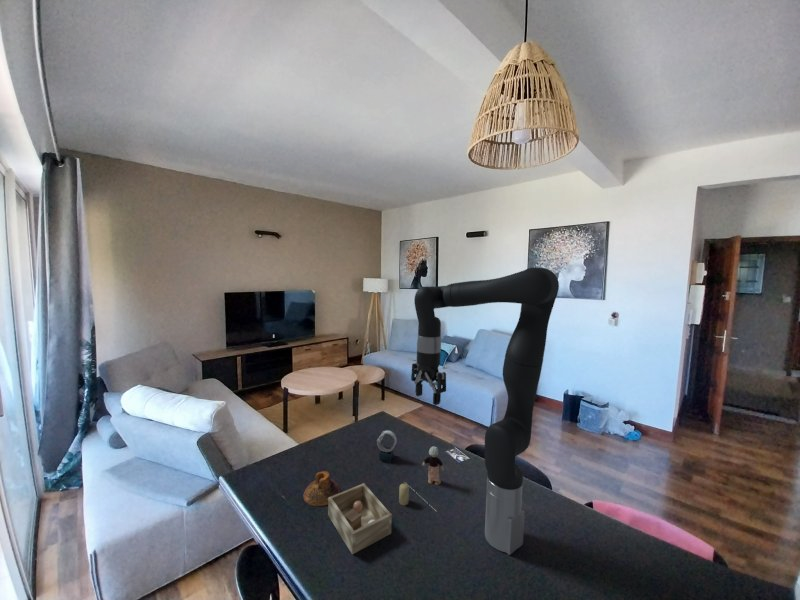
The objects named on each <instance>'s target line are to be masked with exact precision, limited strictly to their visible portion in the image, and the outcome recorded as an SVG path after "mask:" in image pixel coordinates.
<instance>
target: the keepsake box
mask: <svg viewBox="0 0 800 600" xmlns="http://www.w3.org/2000/svg"><path fill="white" fill-rule="evenodd" d="M355 501H361V503H362V505H363V507H362V510H361V511H360V512H358V513H360V514H361V527H360V528H358V529H357V530H355V531H354V530H353V529H352V527H351V526H350V524H349V523H348V521H347V520H346V518H345V517H344V515H345V514H346V513H348V512H349V511H351V510H352V509H353V504H354V502H355ZM327 516H328V517H329V519H330V521H331V523H332V524H333V525H334V527H335V528H336V531H337V532H338V534H339V536H340V537H341V539H342V540H343V542H344V543H345V546H347V548H348V550H349V552H350V553H351V555H354V554H356V553H358V552H360V551H361V550H363V549H365V548H367V547H369V546H371V545H373V544H374V543H377V542H378V541H380V540H382V539H384V538H385V537H387V536H389V535H391V534H392V524H393V523H392V519H393V517H392V516H393V515H392V513H391V512H390V511H389V510H388V509H387V507H386V506H384V504H383V503H382V502H381V501H380V500H379V499H378V497H377V496H376V495H375V493H373V492H372V490H371V489H370V488H369V487H368V486H367V485H366V484H365V482H363V483H361V484H358V485H356V486H353V487H350V488H349V489H346V490H344V491H341V493H338V494H336V495H334V496H331V497H329V498H328V505H327ZM370 520H375V521H373V522H371V523H369V524H368V522H369V521H370Z"/></svg>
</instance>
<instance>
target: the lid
mask: <svg viewBox="0 0 800 600" xmlns="http://www.w3.org/2000/svg"><path fill="white" fill-rule="evenodd" d="M398 489H399V491H398V492H399V494H398V504H400V505H401V506H403V507H405V506H407V505H409V502H410V501H409V497H410V489H411V490H413V491H414V489H413V488H412V486H410V485H409V484H408V483H407V482H405V483H401V484H400V485H399V487H398ZM417 495H418V496H419V497H420V498H421V499H422V500H424V502H425V503H427V501H426V500H425V499H424V498H423V497H422V496H421V495H419V493H417ZM430 507H431V508H432V509H433V510H434V511H435V512H436V513H438V511H437V510H436V509H435V508H433V506H432V505H430Z"/></svg>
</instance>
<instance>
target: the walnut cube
mask: <svg viewBox="0 0 800 600" xmlns="http://www.w3.org/2000/svg"><path fill="white" fill-rule="evenodd" d="M344 517H345V518H346V520H347V521H348V523H349V524H350V526H351V527H352V529H353V530H354V531H355V530H357V529H358V528H360V527H361V514H360V513H358V512H357V511H355V510H354V509H352V510H351V511H349V512H348V513H346V514H345V515H344Z"/></svg>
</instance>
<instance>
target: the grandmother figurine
mask: <svg viewBox="0 0 800 600" xmlns="http://www.w3.org/2000/svg"><path fill="white" fill-rule="evenodd" d="M428 454H429V455H430V456H427V457H426V458H424V460H423V462H422V466H423V467H425V466H426V465H427V464H428V466H427V467H428V472H427V473H428V476H427V477H428V480H427V482H428V484H430V485H433V484H434V486H435V485H436V486H439V485H440V484H441V483H442V482H441V479H440V470H441V471H442V472H443V471H445V467H444V464H443V462H442V460H441V459H440V458H439V457H438V455H439V449H438V447H437V446H431V447H430V448H429V450H428Z"/></svg>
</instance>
